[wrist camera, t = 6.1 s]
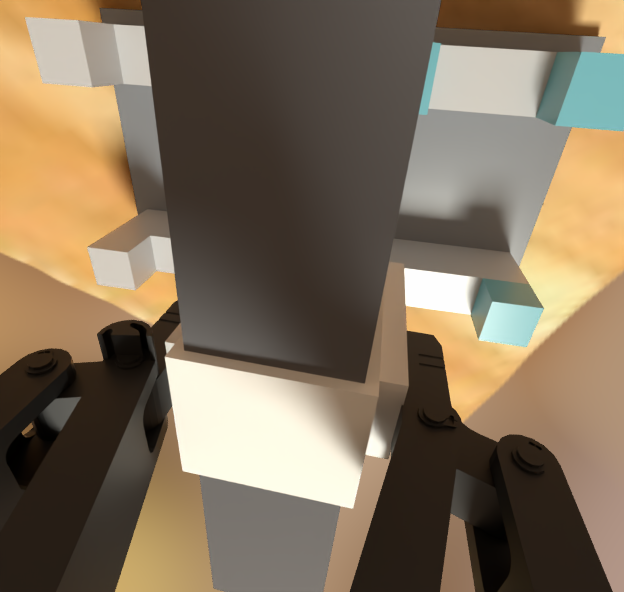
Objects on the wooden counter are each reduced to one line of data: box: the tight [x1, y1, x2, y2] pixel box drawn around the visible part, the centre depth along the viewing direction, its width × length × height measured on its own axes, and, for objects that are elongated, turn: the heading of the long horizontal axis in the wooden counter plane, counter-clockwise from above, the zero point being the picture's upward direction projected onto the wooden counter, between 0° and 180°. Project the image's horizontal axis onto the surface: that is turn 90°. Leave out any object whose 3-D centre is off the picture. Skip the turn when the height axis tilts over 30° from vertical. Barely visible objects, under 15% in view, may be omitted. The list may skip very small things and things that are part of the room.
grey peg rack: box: [25, 8, 624, 347], centre depth 27 cm, size 18×32×9 cm, turn 87°
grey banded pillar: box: [141, 0, 441, 592], centre depth 11 cm, size 19×5×5 cm, turn 176°
